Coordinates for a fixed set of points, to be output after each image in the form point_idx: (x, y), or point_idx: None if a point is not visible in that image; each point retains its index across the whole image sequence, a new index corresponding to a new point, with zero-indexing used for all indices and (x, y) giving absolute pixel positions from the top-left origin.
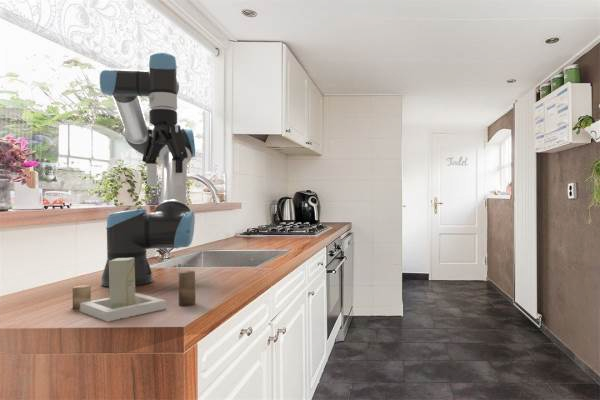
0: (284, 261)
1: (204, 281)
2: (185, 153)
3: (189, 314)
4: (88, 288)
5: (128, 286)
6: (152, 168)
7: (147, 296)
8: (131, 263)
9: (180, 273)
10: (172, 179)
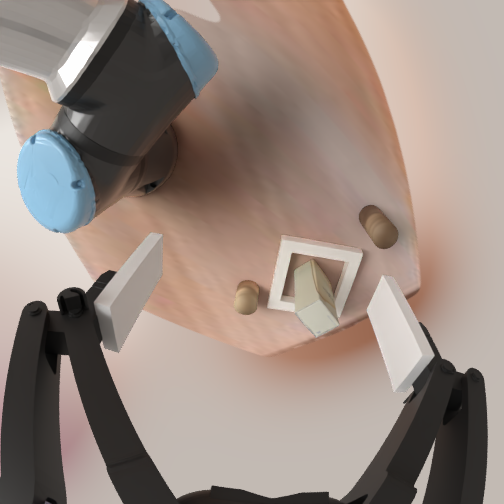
0: None
1: (257, 57)
2: (477, 392)
3: (403, 253)
4: (256, 302)
5: (332, 298)
6: (127, 312)
7: (320, 248)
8: (329, 307)
9: (383, 248)
10: (374, 326)
